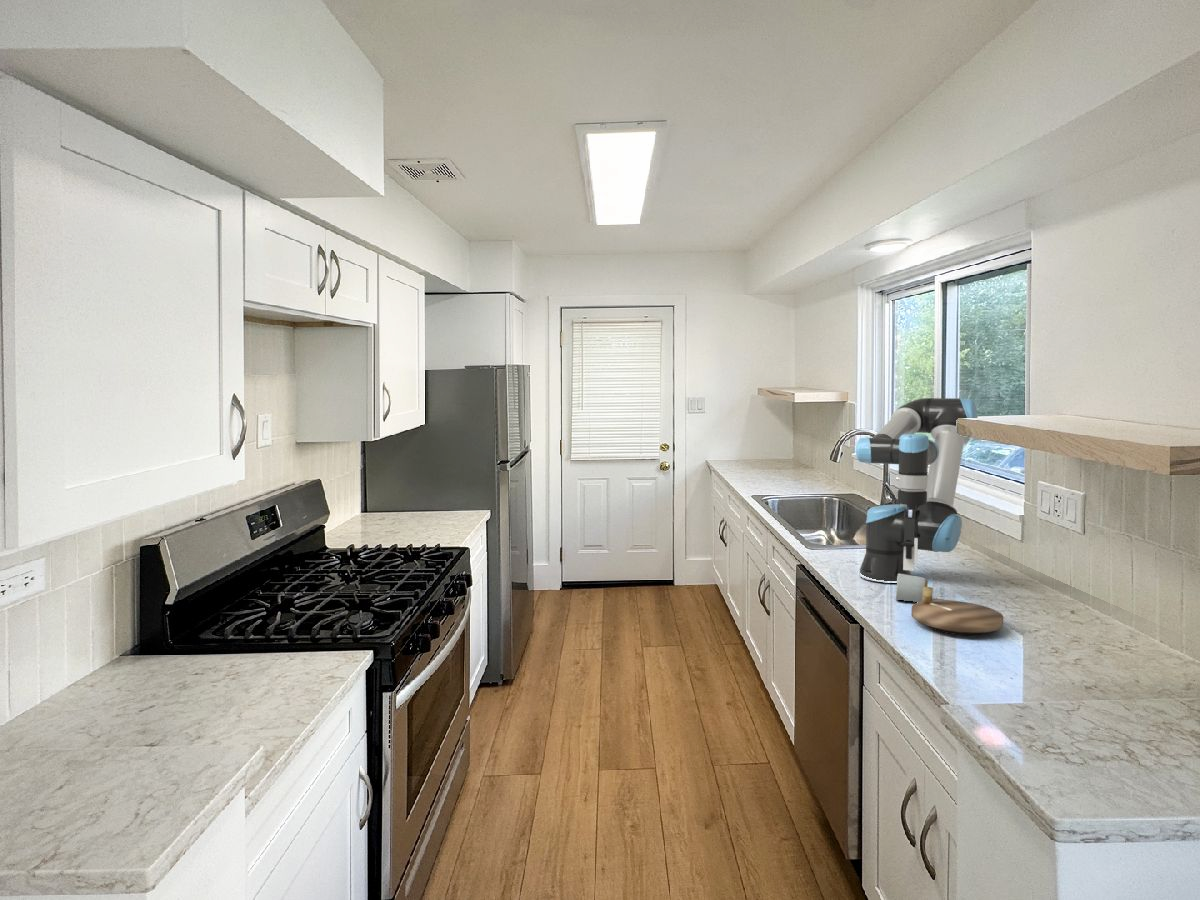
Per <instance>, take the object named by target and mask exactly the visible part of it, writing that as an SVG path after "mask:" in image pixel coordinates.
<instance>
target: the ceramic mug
mask: <svg viewBox="0 0 1200 900" xmlns="http://www.w3.org/2000/svg"><path fill="white" fill-rule="evenodd" d="M928 585H929V580H928V579H927V578H925V577H922V576H917V575H905V574H898V576H897V584H896V590H895V601H897V600H904V601H903V602H905V601H913V602H912V603H915V602H922V601H923V587H929V586H928Z"/></svg>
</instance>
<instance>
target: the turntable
mask: <svg viewBox="0 0 1200 900" xmlns="http://www.w3.org/2000/svg"><path fill="white" fill-rule="evenodd" d="M933 589H934V588H933V587H931V586H927V587H923V601H922V602H918V603H915V602H914V604H912V605H911V610H910V611H911V618H912V619H914V620H915V621H917V622H918V623H921V624H923V625H925V626H928V627H929V626H931V627H935V628H939V629H944V630H949V631H957V632H969V633H981V632H985V633H991V632H995V631H996V632H997V631H999V630H1001V629H1003V627H1004V615H1003V614H1002V613H1001V612H999V611H998V610H996V609H993V608H990V607H987V606H984V605H982V604H977V603H972V602H966V601H959V600H949V599H947V600H945V599H935V600H934V599H933V598H934V597H933V596H934V595H933V592H934V591H933ZM931 627H930V628H931Z"/></svg>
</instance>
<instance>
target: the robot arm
mask: <svg viewBox="0 0 1200 900" xmlns="http://www.w3.org/2000/svg"><path fill="white" fill-rule="evenodd" d="M975 402H976V401H975V400H973V398H963V397H957V398H954V397H951V398H950V397H949V398H948V397H946V398H945V397H943V398H941V397H938V398H937V397H931V398H930V397H924V398H923V397H922V398H919V399H915V400H912V401H911V400H910V402H907V403H905V404H903V405H901V406H900V407H898V408H897V409H896V410H894V412H892V414H891V417H890V420H889V421H888V422H887V423H886V424H885V425H883V427H881V429H880V430H879V431H878V432H877V433H875V434H874V436H873V437H869V436H868V437H861V438H858V440H857V443H856V445H855V457H856V459H857V461H858V462H860V463H866V464H879V465H880V464H881V465H884V464H885V465H898V476H897V477H896V478H895V480H896V481H898V483H897V484H898V486H897V487H898V488H899V489H898V490H897V504H882V505H876V506H873V507H870V508H869V509H867V513H866V520H865V524H866V530H865V531H866V532H865V535H866V536H865V537H866V538H865V541H866V542H865V554H864V558H863V560H862V562H861V564H860V568H859V574H860V573H861V574H862V575H864V576H866V577H869V578H872V579H876V580H884V581H897V576H898V574H905V575H911V574H912V572H914V571H915V561H916V562H917V561H918V550H919V551H920V550H921V551H928V552H929V551H930V552H935V553H950V552H952V551H953V550H955V548H956V547H957V545H958V543H959V541H960V537H961V529H962V525H963V524H962V523H963V522H962V517H961V516H960V515H959V514H958V510H957V509H956V508H955V507H954V503H955V497H956V491H957V484H958V479H959V473H960V469H961V463H962V462H961V461H962V456H963V451H964V445H965V444H966V443H968V442H969V441H970V439H971V437H970V438H969V437H964V436H960V435H959V434H958V433H957V429H956V420H957V419H958V418H978V410H977V405H976V404H977V403H975ZM924 433H925V434H924ZM927 434H930V436H931V437H932V439H933V440H932V439H929V436H928V435H927ZM911 571H912V572H911ZM911 576H912V575H911Z"/></svg>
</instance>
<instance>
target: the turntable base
mask: <svg viewBox="0 0 1200 900" xmlns="http://www.w3.org/2000/svg"><path fill="white" fill-rule="evenodd" d="M928 627H929V628H931V629H933V630H935V629H936V630H935V631H938V630H939V631H938V632H941V631H942V633H945V632H947V633H946V634H951V633H954V634H953V635H958V634H962V635H961V636H975V635H976V634H977V636H978V635H983V634H985V633H986V632H981V633H969V632H957V631H949V630H944V629H939V628H935V627H931V626H928Z"/></svg>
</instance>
